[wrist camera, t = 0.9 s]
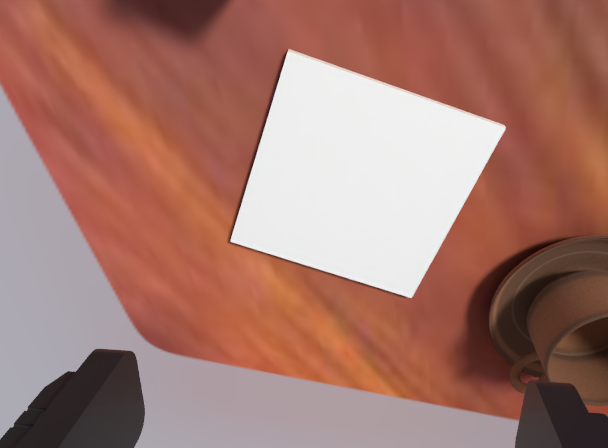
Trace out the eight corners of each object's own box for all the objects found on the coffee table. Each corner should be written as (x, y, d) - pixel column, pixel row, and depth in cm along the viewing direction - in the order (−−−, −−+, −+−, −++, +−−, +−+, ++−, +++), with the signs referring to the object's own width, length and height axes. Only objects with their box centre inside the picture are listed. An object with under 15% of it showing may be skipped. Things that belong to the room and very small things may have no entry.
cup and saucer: (588, 382, 40) (626, 453, 34) (450, 327, 38) (466, 392, 33) (710, 264, 34) (778, 328, 29) (553, 193, 32) (594, 246, 27)
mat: (231, 237, 35) (229, 241, 35) (288, 48, 29) (287, 50, 28) (410, 293, 36) (411, 298, 36) (503, 124, 30) (506, 127, 30)
